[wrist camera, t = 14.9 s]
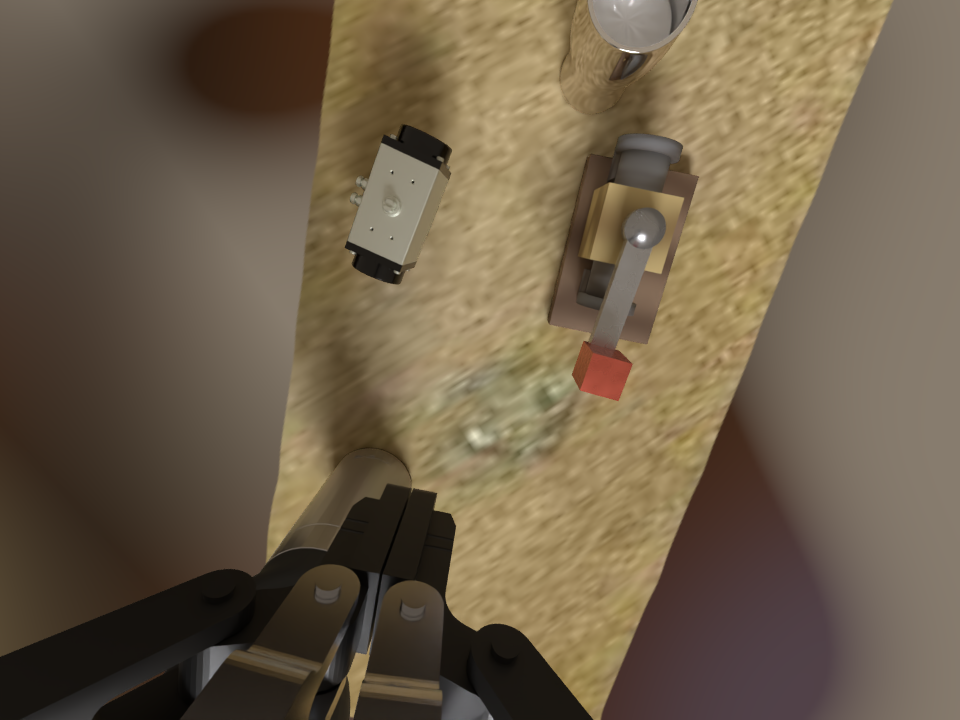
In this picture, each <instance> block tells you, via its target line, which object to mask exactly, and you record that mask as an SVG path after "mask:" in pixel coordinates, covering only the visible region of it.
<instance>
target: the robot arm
mask: <svg viewBox="0 0 960 720" xmlns="http://www.w3.org/2000/svg"><path fill="white" fill-rule="evenodd" d="M411 491H412V493H411ZM436 497H437V493H434V492H429V491H424V490H419V489H415V488H413V490H412V488H411V479H410V476H409V473H408V471H407V469H406V467H405V466H404V465H403V464H402V462H401V461H400V460H399V459H397V458H396V457H395V456H394V455H392V454H390V453H388V452H386V451H383V450H379V449H373V448H366V449H359V450H356V451H353V452H351V453H350V454H348V455H346V456H345V457H344V458H343V459H342V460H341V461H340V463H339V464H338V465H337V467H336V468H335V470H334V471H333V472H332V474H331V475H330V476H329V478H328V479H327V480H326V482H325V483H324V484H323V486H322V487H321V488H320V490H319V491H318V493H317V494H316V495H315V497H314V498H313V499H312V501H311V502H310V504H309V505H308V506H307V508H306V509H305V511H304V512H303V513H302V515H301V516H300V517H299V519H298V520H297V522H296V523H295V524H294V526H293V527H292V528H291V530H290V531H289V533H288V534H287V535H286V537H285V538H284V540H283V541H282V543H281V544H280V545H279V547H278V548H277V549H276V551H275V552H274V554H273V555H272V556H271V558H270V559H269V561H268V562H267V563H266V565H265V566H264V568H263V569H262V570H261V572H260V573H259V574H257V575H255V576H253V577H251V576H250V575H249V574H247V573H245V572H243V571H240V570H235V569H224V570H217V571H213V572H210V573H207V574H204V575H202V576H199V577H197V578H195V579H192V580H189V581H187V582H184V583H182V584H179V585H177V586H175V587H172V588H170V589H167V590H165V591H162V592H160V593H157V594H155V595H152V596H150V597H147V598H145V599H142V600H140V601H137V602H135V603H132V604H130V605H127V606H125V607H123V608H120V609H118V610H115V611H113V612H110V613H108V614H105V615H103V616H100V617H98V618H95V619H93V620H90V621H88V622H85V623H83V624H81V625H78V626H76V627H73V628H71V629H68V630H66V631H64V632H61V633H58V634H56V635H53V636H51V637H48V638H46V639H43V640H41V641H38V642H36V643H33V644H31V645H29V646H26V647H24V648H21V649H19V650H16V651H14V652H11V653H9V654H7V655H4V656H1V657H0V720H349V718H350V692H349V682H348V678H347V674H348V672H349V670H350V667H351V665H352V662H353V659H354V656H355V653H356V652H357V653H362V654H367V651H368V648H369V645H370V641H371V638H372V641H371V647H370V653H369V655H370V657H369V661H368V666H367V670H366V674H365V678H364V680H363V681H362V685H361V689H360V693H359V697H358V701H357V706H356V710H355V714H354V718H353V720H593V719H592V718H591V716H590V715H589V714H588V713H587V711H586V710H585V709H584V708H583V706H582V705H581V704H580V703H579V702H578V700H577V699H576V698H575V697H574V695H573V694H572V693H571V692H570V690H569V689H568V688H567V687H566V685H565V684H564V683H563V682H562V680H561V679H560V678H559V677H558V676H557V674H556V673H555V672H554V671H553V669H552V668H551V667H550V666H549V664H548V663H547V662H546V661H545V659H544V658H543V657H542V656H541V654H540V653H539V652H538V651H537V650H536V648H535V647H534V646H533V645H532V643H531V642H530V641H529V640H528V639H527V637H526V636H525V635H524V634H522V633H521V632H520V631H518V630H517V629H515V628H513V627H511V626H508V625H504V624H490V625H487V626H484V627H483V628H481V629H480V630H479V631H475V630H473V629H471V628H470V627H468V626H466V625H464V624H463V623H461V622H460V621H458V620H457V619H456V618H455V617H454V616H453V615H452V613H451V612H450V610H449V608H448V606H447V604H446V599H445V592H446V586H447V580H448V573H449V567H450V561H451V554H452V548H453V541H454V536H455V529H456V525H455V523H454V520H453V518H452V516H451V514H449V513H444V512H439V511H434V507H435V502H436ZM165 670H166V671H165ZM163 671H165V673H164V674H163V675H161V676H159V677H157V678H155V679H153V680H151V681H150V682H148V683H146V684H144V685H142V686H140V687H138V688H136V689H134V690H132V691H130V692H129V693H127V694H125V695H123V696H121V697H119V698H117V699H115V700H113V701H111V702H109V703H108V704H106V705H104V704H105V703H107V702H108V701H109V700H110V699H112V698H114V697H115V696H117V695H119V694H121V693H123V692H125V691H127V690H129V689H131V688H132V687H134V686H136V685H138V684H140V683H142V682H144V681H146V680H147V679H150V678H152V677H153V676H155V675H157V674H159V673H161V672H163ZM103 705H104V706H103Z"/></svg>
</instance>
